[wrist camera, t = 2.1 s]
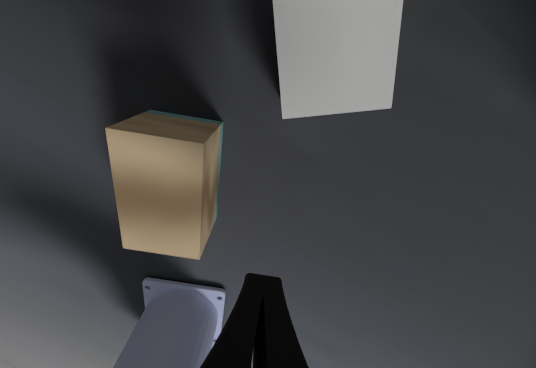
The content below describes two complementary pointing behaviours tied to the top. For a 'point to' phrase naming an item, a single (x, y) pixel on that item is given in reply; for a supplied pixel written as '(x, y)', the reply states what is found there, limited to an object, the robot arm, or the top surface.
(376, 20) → the grey block
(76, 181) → the top surface
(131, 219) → the oak block
